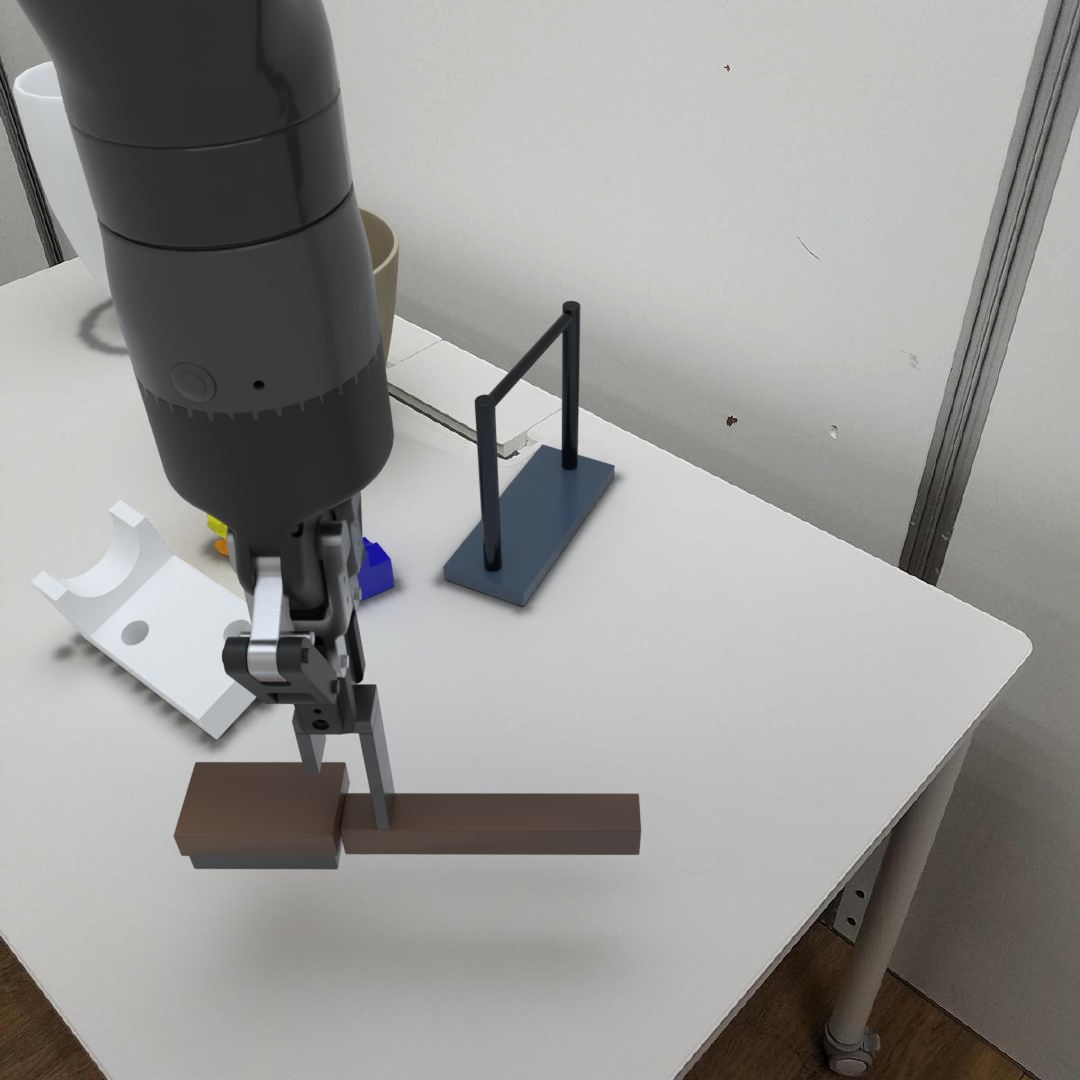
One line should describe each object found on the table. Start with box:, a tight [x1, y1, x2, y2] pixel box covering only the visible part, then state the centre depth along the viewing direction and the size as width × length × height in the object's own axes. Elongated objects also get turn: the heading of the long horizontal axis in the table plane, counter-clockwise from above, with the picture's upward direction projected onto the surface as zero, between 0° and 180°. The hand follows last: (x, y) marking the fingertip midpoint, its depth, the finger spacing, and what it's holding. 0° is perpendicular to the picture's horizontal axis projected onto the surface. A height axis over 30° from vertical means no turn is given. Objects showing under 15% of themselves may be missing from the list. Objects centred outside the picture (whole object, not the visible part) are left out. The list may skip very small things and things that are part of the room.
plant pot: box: [358, 205, 400, 368], centre depth 82 cm, size 15×15×16 cm
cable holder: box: [357, 536, 395, 603], centre depth 75 cm, size 8×4×4 cm, turn 33°
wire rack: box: [442, 300, 616, 607], centre depth 74 cm, size 6×15×15 cm, turn 154°
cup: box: [12, 60, 112, 299], centre depth 93 cm, size 10×10×22 cm
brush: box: [172, 632, 642, 870], centre depth 47 cm, size 4×20×15 cm, turn 89°
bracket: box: [30, 499, 257, 741], centre depth 67 cm, size 13×7×8 cm, turn 51°
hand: (334, 700), depth 46 cm, fingers closed on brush, 2 cm apart
